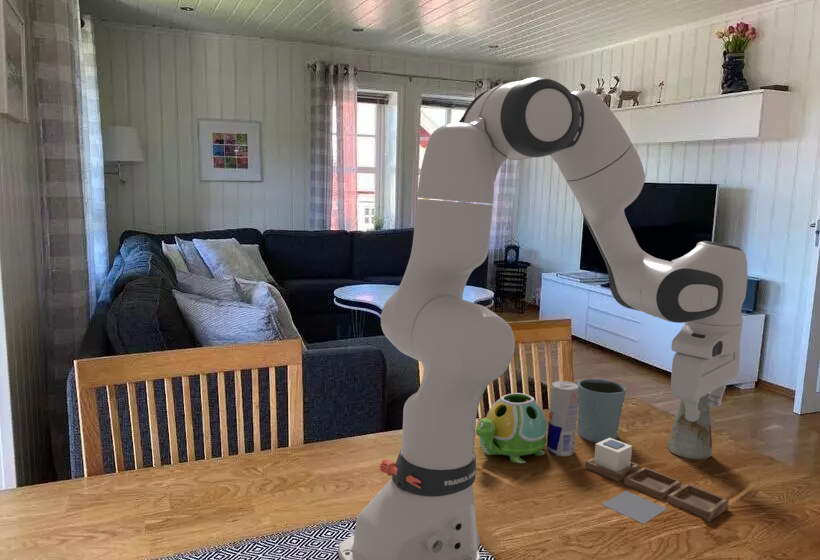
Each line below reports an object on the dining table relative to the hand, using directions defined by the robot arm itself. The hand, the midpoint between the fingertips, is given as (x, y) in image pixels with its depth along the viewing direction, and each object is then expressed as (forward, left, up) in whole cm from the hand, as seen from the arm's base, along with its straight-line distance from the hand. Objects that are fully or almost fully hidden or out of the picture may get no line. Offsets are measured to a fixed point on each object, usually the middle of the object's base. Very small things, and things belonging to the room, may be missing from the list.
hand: (703, 412), depth 111 cm
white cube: (0, +16, -17) cm, 23 cm away
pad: (-10, +6, -17) cm, 21 cm away
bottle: (+21, +11, -17) cm, 29 cm away
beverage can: (-1, +28, -17) cm, 33 cm away
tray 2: (0, +8, -17) cm, 19 cm away
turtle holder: (-10, +34, -18) cm, 39 cm away
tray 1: (0, +16, -17) cm, 24 cm away
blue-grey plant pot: (+13, +28, -17) cm, 35 cm away
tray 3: (0, -1, -17) cm, 17 cm away
